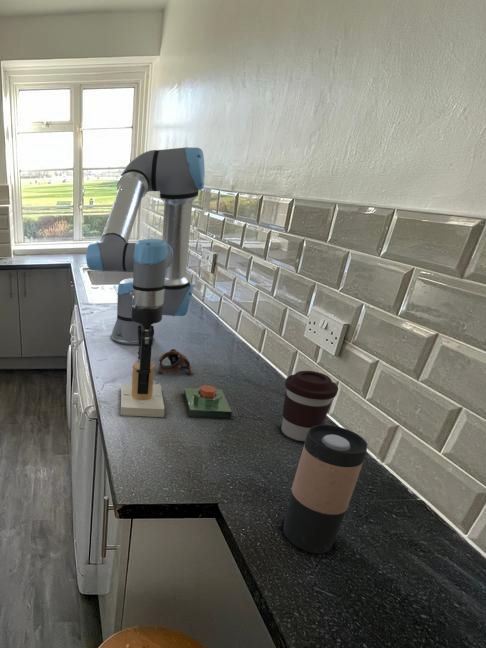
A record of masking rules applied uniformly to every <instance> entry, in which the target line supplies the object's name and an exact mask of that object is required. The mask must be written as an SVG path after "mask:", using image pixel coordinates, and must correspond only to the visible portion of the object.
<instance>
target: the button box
mask: <svg viewBox="0 0 486 648" xmlns="http://www.w3.org/2000/svg"><path fill="white" fill-rule="evenodd" d="M199 393H200V387H196V388H195V387H193V388H192V387H183V398H184V401H185V405H186V409H187V412H188V415H189V417H190V418H205V419H225V420H231V419H232V409H231V407H230V404H229V403H228V401H227V400H228V399H227V397H226V395H225V393H224V392H223V389H220V388H219V389H218V388H216V395H215V397H204V396H201V395H200V394H199Z"/></svg>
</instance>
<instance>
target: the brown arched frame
mask: <svg viewBox="0 0 486 648" xmlns="http://www.w3.org/2000/svg"><path fill="white" fill-rule="evenodd" d="M166 358H168V360H169V363H170V364H169V365H165V364H163V361H164V360H165V359H166ZM158 361H159V363H158V372H159V374H166V375H167V374H173V373H180V370H181V369H182V370H187V371H188V372H189V373H188V375H190V376H191V375H192V368H191V367H192V366H191V364H190V361H189V358H187V357H186V355H184V354H182V353H181V352H180V351H178V350H176V349H175V348H172V349H170V350H169V351H167V352H165V353H163V354H162V355H161V356H160V357H159V359H158Z"/></svg>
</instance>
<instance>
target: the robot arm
mask: <svg viewBox="0 0 486 648" xmlns="http://www.w3.org/2000/svg"><path fill="white" fill-rule="evenodd" d="M205 177H206V176H205V157H204V152H203V149H201V148H200V147H189V146H188V147H187V146H185V147H177V148H176V147H175V148H166V149H151V150H148V151H144V152H143V153H141V154H139V155H138V156H136V157H134V159H132V160H131V161H130V162H129V163H128V164H127V165H126V166H125V168H123V170H122V171H121V173H120V175H119V177H118V180H117V183H116V190H117V193H116V195H115V198H114V200H113V203H112V206H111V209H110V212H109V215H108V217H107V221H106V223H105V226H104V229H103V232H102V234H101V237H100V239H99V241H94V242H90V243H89V244H88V245H87V247H86V252H85V262H86V266H87V269H89V270H91V271H95V272H117V273H119V272H121V273H123V272H125V273H132V275H133V276H132V277H129V278H125V279H123V280H121V281H120V282H119V283H118V286H117V293H116V295H117V300H116V301H117V302H116V303H117V306H116V307H117V308H116V321H115V323H114V326H113V328H112V332H111V339H112V341H114V342H116V343H119V344H121V345H128V346H137V345H138V349H137V355H138V356H137V361H140V368H139V370H136V372H138V390H137V394H148V386H149V374H150V363H152V361H151V360H152V348H153V346H154V345H153V343H154V341H153V340H154V336H155V328H154V324H157V323H160V322H161V321H162V320H163V316H170V317H184V316H186V315H187V314H188V311H189V307H190V305H191V304H190V303H191V299H192V297H193V296H192V295H193V291H194V287H195V284H194V283H192V282H191V278H190V277H189V275H187V270H188V256H189V246H190V233H191V221H192V211H193V202H194V201H195V200H196V199H197V198H198V197H199V191H202V190H203V189H204V188H205ZM148 192H159V199H160V200H161V201H162V203H163V217H162V218H163V219H162V235H161V236H162V237H161V239H160V238H144V239H143V238H142V239H139V240H137V241H136V242H129V240H130V236H131V233H132V231H133V227H134V224H135V220H136V218H137V215H138V211H139V208H140V204H141V201H142V199H143V198H144V197H145V196H146V195H147V193H148Z"/></svg>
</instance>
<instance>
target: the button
mask: <svg viewBox="0 0 486 648" xmlns="http://www.w3.org/2000/svg"><path fill="white" fill-rule="evenodd" d="M199 388H200V393H199V394H200V395H201V396H204V397H215V395H216V389H217V388H216V387H215V386H213V385H208V384H203V385H201V386H200V387H199Z"/></svg>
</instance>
